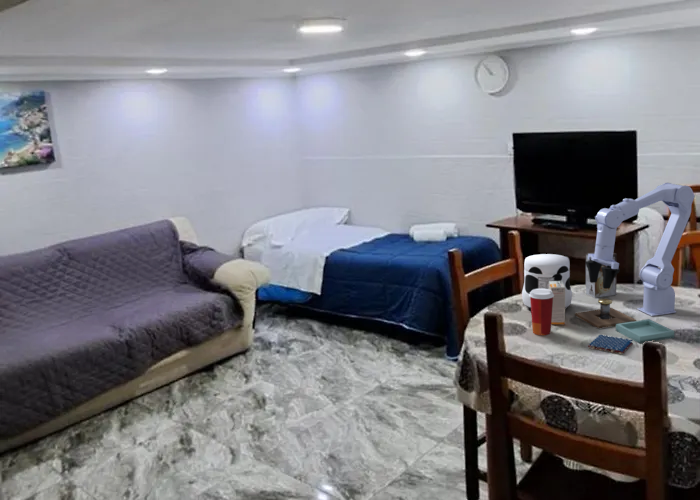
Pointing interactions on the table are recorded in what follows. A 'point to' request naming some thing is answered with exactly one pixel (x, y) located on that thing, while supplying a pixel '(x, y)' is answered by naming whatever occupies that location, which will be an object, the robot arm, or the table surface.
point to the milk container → (545, 275)
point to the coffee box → (599, 283)
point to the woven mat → (610, 344)
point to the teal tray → (644, 331)
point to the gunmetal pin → (605, 308)
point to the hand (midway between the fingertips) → (599, 285)
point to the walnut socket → (614, 319)
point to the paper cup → (541, 311)
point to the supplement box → (558, 302)
